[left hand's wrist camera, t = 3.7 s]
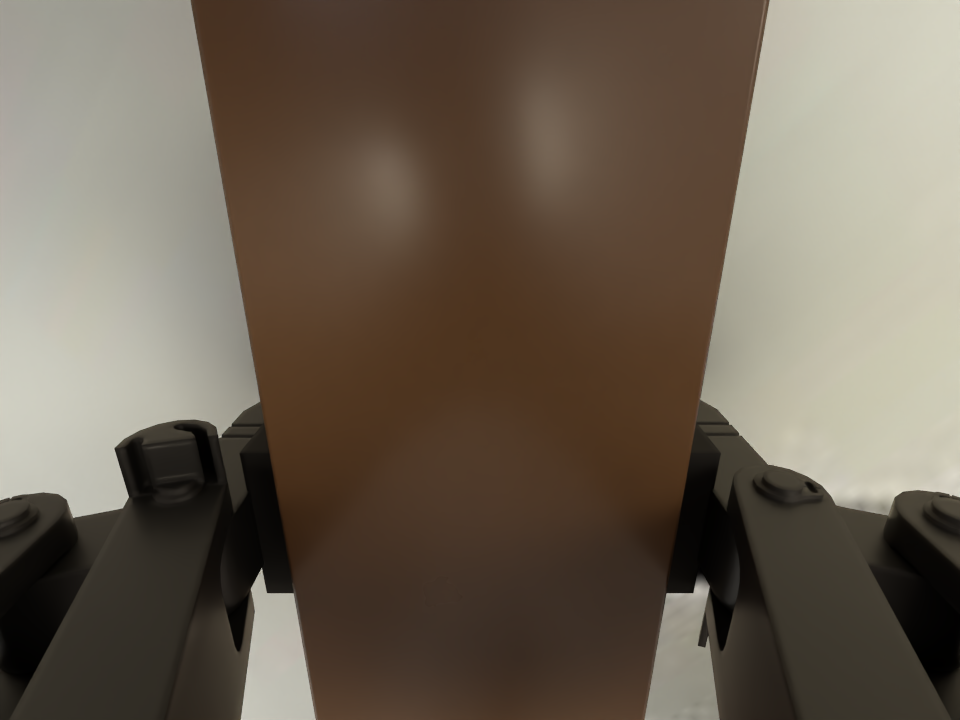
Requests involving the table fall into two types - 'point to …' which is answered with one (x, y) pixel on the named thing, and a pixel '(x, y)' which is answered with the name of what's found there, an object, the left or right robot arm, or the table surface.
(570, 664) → the beam
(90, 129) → the table surface
